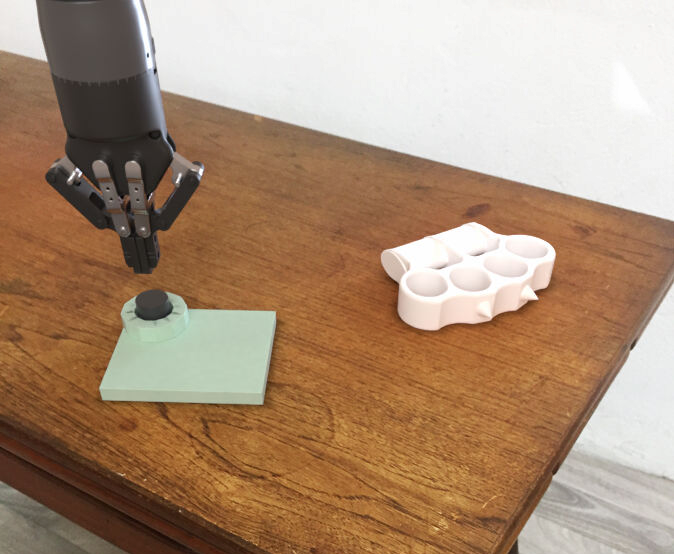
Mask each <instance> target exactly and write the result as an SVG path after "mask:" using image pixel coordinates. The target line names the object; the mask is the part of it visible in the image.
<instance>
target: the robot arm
mask: <svg viewBox="0 0 674 554" xmlns="http://www.w3.org/2000/svg"><path fill="white" fill-rule="evenodd" d="M35 6H36V15H37V21H38V28H39V33H40V38H41V41H42V44H43V49H44V53H45V56H46V61H47V64H48V68H49V72H50V76H51V80H52V85H53V89H54V93H55V95H56V100H57V104H58V107H59V111H60V115H61V119H62V123H63V127H64V129H65V131H66V141H65V145H64V153H65V154H64V156H62V157H61V158H59V157H58V158H56V159H55V160H54V161H53V163H52V164H51V165H50V167H49V168H48V170H47V172H46V173H45V175H44V179H45V181H46V183H47V184H48V185H49V186H50V187H52V188H53V189H54V190H55V191H56V192H57V193H58V194H59V195H60V196H61V197H62V198H63V199H65V201H67V202H68V203H69V204H70V205H71V206H72V207H73V208H74V209H75V210H76V211H77V212H78V213H79V214H81V215H82V217H84V218H85V219H86V220H87V221H88V222H89V223H90V224H92V226H94V227H95V228H96V229H98V230H101V231H102V230H105V229H107V230H111V231H113V232H115V233H116V234H117V235H118V237H119V241H120V246H121V249H122V253H123V258H124V263H125V264H126V266H127V267H128V268H132V271H133V273H134V274H135V275H152V274H153V272H154V269H156V268H157V267H158V265H159V262H160V259H161V257H162V253H161V249H160V242H159V237H158V231H161V232H167V231H169V230H170V229H171V227H172V226H173V224H174V223H175V221H176V220H177V218H178V217H179V216H180V214H181V213H182V211H183V210H184V209H185V207H186V205H187V204H188V202H189V201H190V199H191V198H192V197H193V195H194V194H195V192H196V190H198V188H199V186H200V184H201V181H202V179H203V175H204V173H205V166H204V164H203V163H202V162H201V161H198V160H194V161H192V162H191V161H190V160H189V159H187V158H185V157H184V156H183V155H181V154H180V153H178V152H177V145H176V142H175V140H174V139H173V138H172V136H171V135H170V132H169V131H168V128H167V123H166V116H165V110H164V103H163V98H162V91H161V85H160V78H159V73H158V66H157V59H156V52H157V51H156V45H155V39H154V37H153V35H152V29H151V24H150V18H149V14H148V11H147V6H146V4H145V0H35ZM169 168H170V169H171V171H172V175H171V177H170V181H171V183H172V185H173V186H174V188H173V190H172V191H171V193H170V194H169V195H168V197H167V199H166V200H165V202H163V205H162V206H161V207H159V208H158V207H157V208H156V200H155V198H156V190H157V188H158V187H159V185H160V184H161V182H162V180H163V178H164V177H165V175H166V173H167V172H168V170H169ZM84 177H85V178H84ZM99 191H100V192H99Z"/></svg>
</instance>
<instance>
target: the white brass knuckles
mask: <svg viewBox="0 0 674 554" xmlns="http://www.w3.org/2000/svg"><path fill="white" fill-rule="evenodd" d="M555 261H556V251H555V249H554V247H553V246H552V245H551V244H550V243H549V242H547V241H545V240H543V239H541V238H539V237H536V236H532V235H526V234H512V235H503V234H499V233H496V232H494V231H492V230H491V229H489V228H488V227H486V226H484V225H483V224H479V223H477V222H474V221H473V222H468V223H464V224H461V226H458V227H455V228H452V229H449V230H446V231H443V232H440V233H436V234H432V235H427V236H424V237H423V238H421V239H418V240H415V241H412V242H409V243H406V244H403V245H399V246H396V247H393V248H388V249H384V250H383V251H382V252H381V254H380V263H381V265H382V268H383V269H384V271H385V272H386V273H387V275H388V276H389V277H390V278H391V279H392V280H393V281H395V282H397V284H398V294H397V295H398V296H397V297H398V298H397V314H398V316H399V317H400V319H401V320H402V321H403V322H404V323H405V324H407V325H409V327H410V326H411V327H412V328H415V329H417V330H423V331H439V330H440V329H441V328H443V327H444V328H445V327H446V326H450V325H453V324H454V325H455V324H468V325H475V324H481V323H486V322H491V321H492V319H493V318H494V317H496V316H497V315H499V314H502V313H506V312H516V311H518V310H519V309H521V308H522V307H523V306H525V305H526V304H527V303H528V301H537V300H538V301H539V300H540V299H539V298H538V296H537V295H536V293H535V292H536V291H539V290H544V289H547V288H548V286H549V284H550V282H551V278H552V274H553V269H554V265H555Z"/></svg>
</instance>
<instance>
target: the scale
mask: <svg viewBox="0 0 674 554" xmlns="http://www.w3.org/2000/svg"><path fill="white" fill-rule="evenodd" d="M164 292H165V293H166V294H167V295H168V298H169V304H170V309H171V312H170V314H169V315H168V316H167V317H166V318H163V319H159V320H156V321H145V320H142V319H141V318H140V317H139V316H138V312H137V307H136V303H135V299H136V297H137V295H135V296H134V297H132V298H131V299H130V300H128V301H126V302H125V303H124V304H123V307H122V309H121V312H120V317H121V322H122V326H123V328H122V330H121V333H120V335H119V337H118V340H117V343H116V344H115V348H114V351H113V352H112V355H111V357H110V360H109V363H108V365H107V368H106V370H105V372H104V375H103V378H102V379H101V382H100V385H99V387H98V389H99V393H100V396H101V400H102V401H112V402H114V401H115V402H147V403H149V402H150V403H151V402H153V403H155V402H156V403H184V404H185V403H186V404H187V403H189V404H222V405H223V404H224V405H225V404H227V405H257V406H258V405H259V406H260V405H261V406H263V405H264V400H265V394H266V389H267V383H268V376H269V370H270V365H271V359H272V358H271V357H272V352H273V346H274V339H275V333H276V327H277V314H276V310H249V309H247V310H246V309H245V310H243V309H242V310H241V309H209V308H208V309H207V308H206V309H205V308H204V309H203V308H188V305H187V303H186V302H185V300H184V299H183V297H182V296H180V295H177V294H175V293H172V292H169V291H164Z"/></svg>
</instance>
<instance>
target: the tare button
mask: <svg viewBox="0 0 674 554" xmlns="http://www.w3.org/2000/svg"><path fill="white" fill-rule="evenodd" d="M165 292H166V291H164V290H162V289H147V290H144V291H142V292H140V293H138V294H137V295H136V296H137V297H136V299H135V303H136V307H137V312H138V316H139V317H140V318H141V319H142V320H145V321H156V320H159V319H163V318H166V317H167V316H168V315H169V314H170V312H171V309H170V304H169V298H168V295H167V294H166V293H165Z"/></svg>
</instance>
